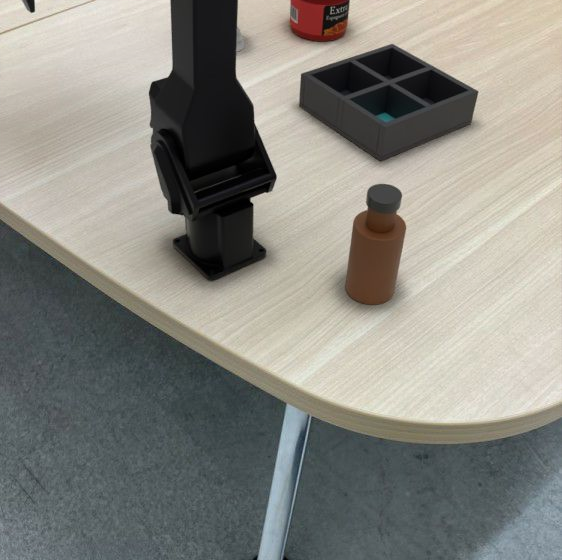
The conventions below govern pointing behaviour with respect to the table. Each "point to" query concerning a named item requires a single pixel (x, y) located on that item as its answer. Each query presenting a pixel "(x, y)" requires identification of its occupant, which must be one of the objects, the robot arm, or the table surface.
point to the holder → (387, 100)
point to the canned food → (319, 18)
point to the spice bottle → (376, 247)
